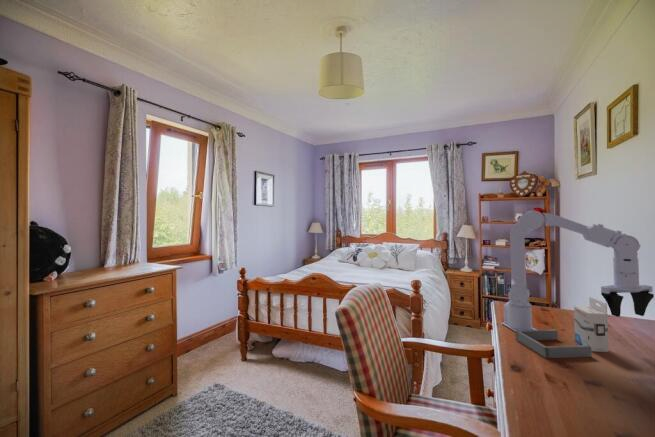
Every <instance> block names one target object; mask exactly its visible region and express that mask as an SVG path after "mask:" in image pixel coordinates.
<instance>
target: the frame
mask: <svg viewBox="0 0 655 437" xmlns="http://www.w3.org/2000/svg"><path fill="white" fill-rule="evenodd" d="M558 333H559V332H558V330H557V329H537V330H525V331H516V332H515V340H516V341H518V342H519V343H520V344H522V345H524V346H526V347H527V348H529V349H530V350H532V351H533V352H535V353H537V354H539V355H540V356H542V357H543V358H545V359H562V358H566V359H567V358H568V359H570V358H589V357H590V358H592V355H593V354H592V351H591V346H589V345H581V344H580V345H578V344H577V345H552V346H551V345H550V346H547V345H545V344H543V343H541V342H539V341H550V340H551V341H553V340H554V341H555V340H557V341H558V340H559V339H558V338H559V337H558Z"/></svg>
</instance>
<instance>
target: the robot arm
mask: <svg viewBox="0 0 655 437" xmlns="http://www.w3.org/2000/svg"><path fill="white" fill-rule="evenodd" d="M543 224H544V226H545V227H554V226H556V227H559V228H562V229H565V230H568V231H570V232H571V231H572V232H575V233H578V234H581V235H582V237H583V238H584V240H586V241H588V242H591V243H594V244H597V245H600V246H602V247H606V248H612V249H613V257H612V262H613V266H612V268H613V284H611V285H602V286H600V290H601V292H600V295H601V296H602V297H603V299H604V300H605V303H606V304H607V307H608V309H609V311H610V313H611V316H614V317H617V318H619V317H620V318H621V311H622V310H621V309H622V308H621V306H622V302H623V299H624V296H623V295H620V294H621V293H622V294H623V293H625V294H626V293H629V294H630V296H631V298H632V302H633V303H632V304H633V311H634V314H635V315H637V316H640V317H644V316H645V313H646V311H647V308H648V305H649V304H650V303H651V301H652V300H653V299H654V296H655V294H654V293H653V289H654V288H653V286H652V285H647V284H640V274H639V273H640V272H639V270H640V269H639V257H638V255H639V254H638V251H639V250H640V248H641V244H640V242H639V240H638V239H637V238H636V237H634V236H632V235H628V234H626V233H622V232H623V231H621V230H617V231H616V230H613V229H610V228H607V227H604V226H605V225H604V224H601V223H598V224H595V223H592V224H588V225H586V224H585V225H584V224H582V223H579V222H577V221H574V220H570V219H568V218H564V217H563V216H560V215H558V214H557V215H556V214H552V213H546V212H540V211H537V210H529V211H527V212H525V213H524V214H522V215H521V216H519V219H518V220H517V221H516V222H515V224H514V225H513V226H512V228H511V229H510V230H509V248H510V268H511V269H510V272H511V274H510V275H511V276H510V277H511V282H510V283H511V284H510V291H509V292H508V296H507V297H508V301H507V302H506V303H504V306H503V322H501V324H502V325H504V326H505V327H507V328H509V329H510V330H512V331H514V332H515V333H516V331H525V330H538V329H537V328H534V327H533V321H532V320H533V319H532V318H533V317H532V315H533V314H532V303H531V302H529V301H530V297H531V296H530V295H531V293H530V292H531V291H530V290H529V287H528V285H527V284H528V283H527V272H526V270H527V269H526V246H525V245H526V244H525V242H526V241H525V237H526V236H527V235H528V234H529V233H530V232H531V231H533V230H536V229H538V228H540V227H542V226H543Z"/></svg>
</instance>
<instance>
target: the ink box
mask: <svg viewBox="0 0 655 437" xmlns="http://www.w3.org/2000/svg"><path fill="white" fill-rule="evenodd" d="M588 300H589V301H588V302H589V305H574V306H573V318H574V319H573V320H574V321H573V322H574V323H573V324H574V325H573V326H574V341H575V342H577V343H578V344H580V345H589V346H591V352H595V353H596V352H598V353H609V321H608V318H609V317H608V304H607V302H604V301H602V300H598V299H597V298H593V297H591V296H590V297H588Z"/></svg>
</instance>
